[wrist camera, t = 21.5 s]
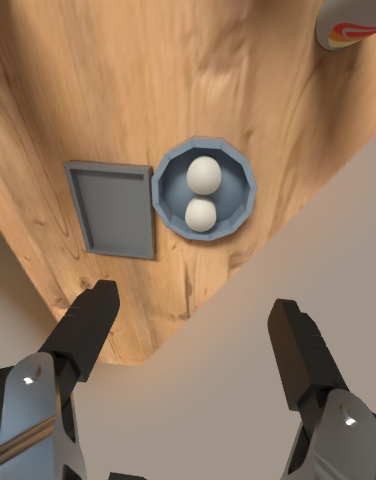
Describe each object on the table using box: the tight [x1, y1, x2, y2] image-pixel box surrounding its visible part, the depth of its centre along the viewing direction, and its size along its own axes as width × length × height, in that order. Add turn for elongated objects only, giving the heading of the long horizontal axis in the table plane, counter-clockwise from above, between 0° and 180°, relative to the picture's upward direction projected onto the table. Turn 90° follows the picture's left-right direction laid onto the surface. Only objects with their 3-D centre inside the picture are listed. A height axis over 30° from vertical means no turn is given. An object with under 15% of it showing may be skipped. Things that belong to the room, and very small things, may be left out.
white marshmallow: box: [185, 194, 216, 232], centre depth 34 cm, size 5×5×4 cm
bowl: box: [151, 136, 258, 241], centre depth 33 cm, size 16×16×4 cm
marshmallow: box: [187, 154, 221, 195], centre depth 31 cm, size 5×5×4 cm
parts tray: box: [63, 160, 156, 259], centre depth 38 cm, size 14×18×2 cm
